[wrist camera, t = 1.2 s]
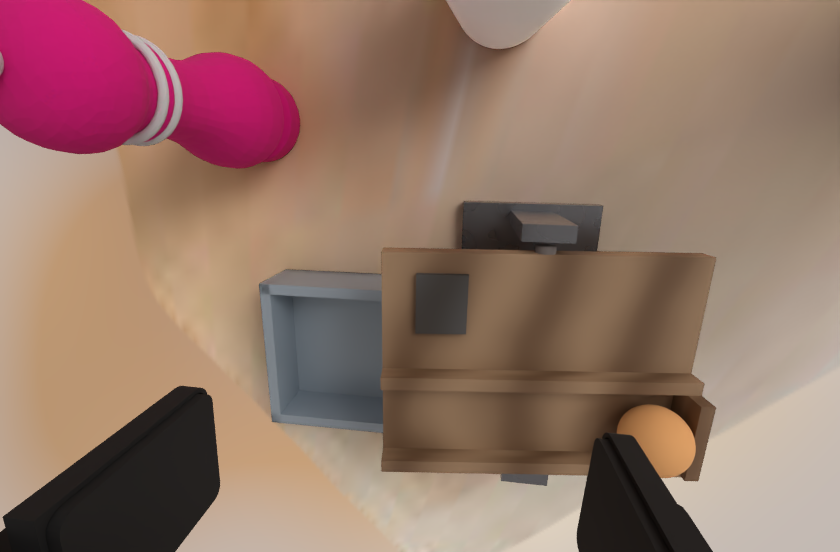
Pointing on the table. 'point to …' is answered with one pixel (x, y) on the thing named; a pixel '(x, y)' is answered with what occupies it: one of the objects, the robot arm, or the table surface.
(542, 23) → the cup
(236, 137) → the pepper mill
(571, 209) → the stand
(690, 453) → the ball
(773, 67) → the table surface
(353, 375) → the bin
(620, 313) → the tray
